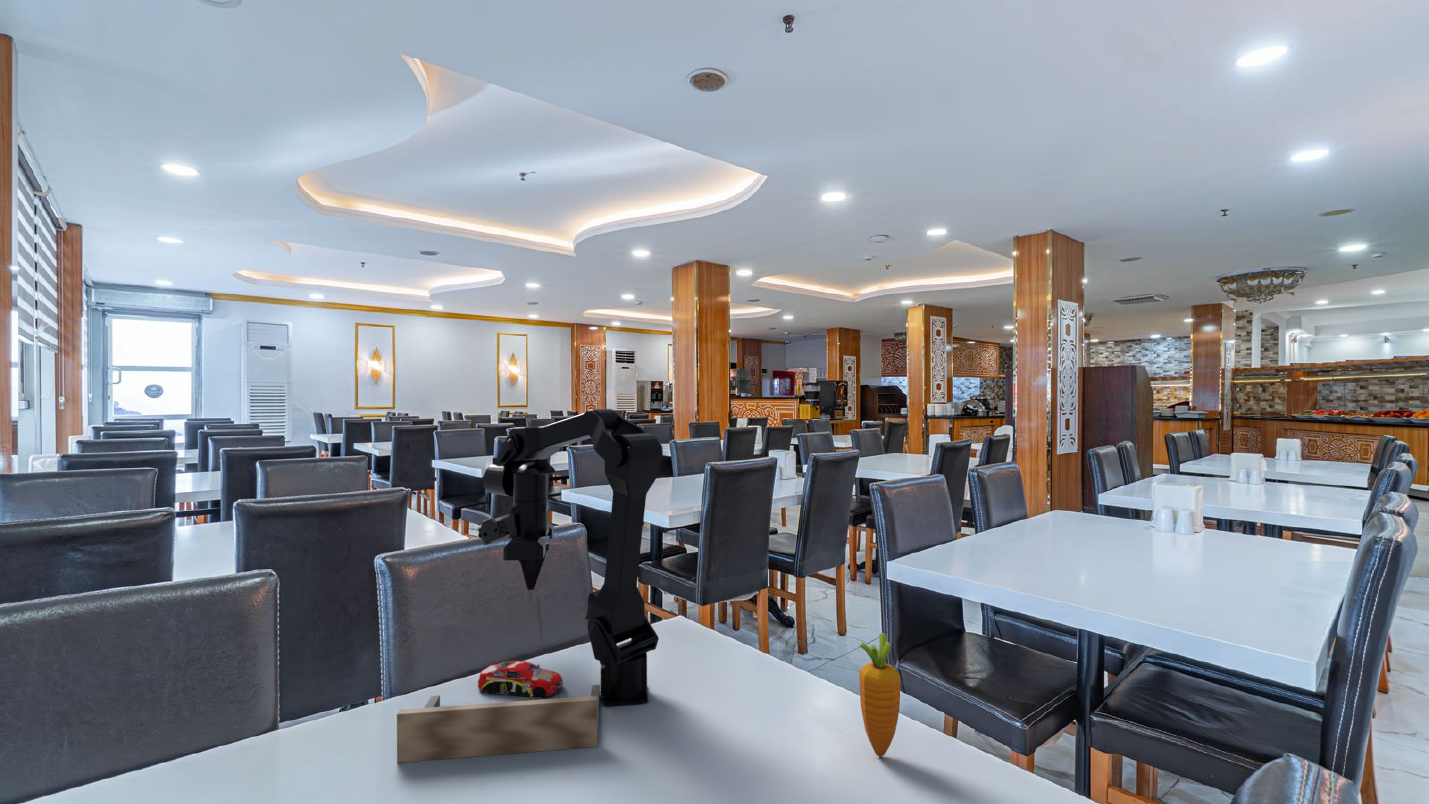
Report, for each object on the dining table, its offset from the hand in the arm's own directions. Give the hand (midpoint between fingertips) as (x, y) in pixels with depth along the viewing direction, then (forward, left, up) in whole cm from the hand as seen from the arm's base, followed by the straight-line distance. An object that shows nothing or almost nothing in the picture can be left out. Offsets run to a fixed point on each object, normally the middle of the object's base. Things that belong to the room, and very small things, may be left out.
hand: (530, 589), depth 112 cm
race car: (0, +12, -12) cm, 17 cm away
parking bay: (0, +24, -12) cm, 27 cm away
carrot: (-47, +39, -12) cm, 62 cm away
